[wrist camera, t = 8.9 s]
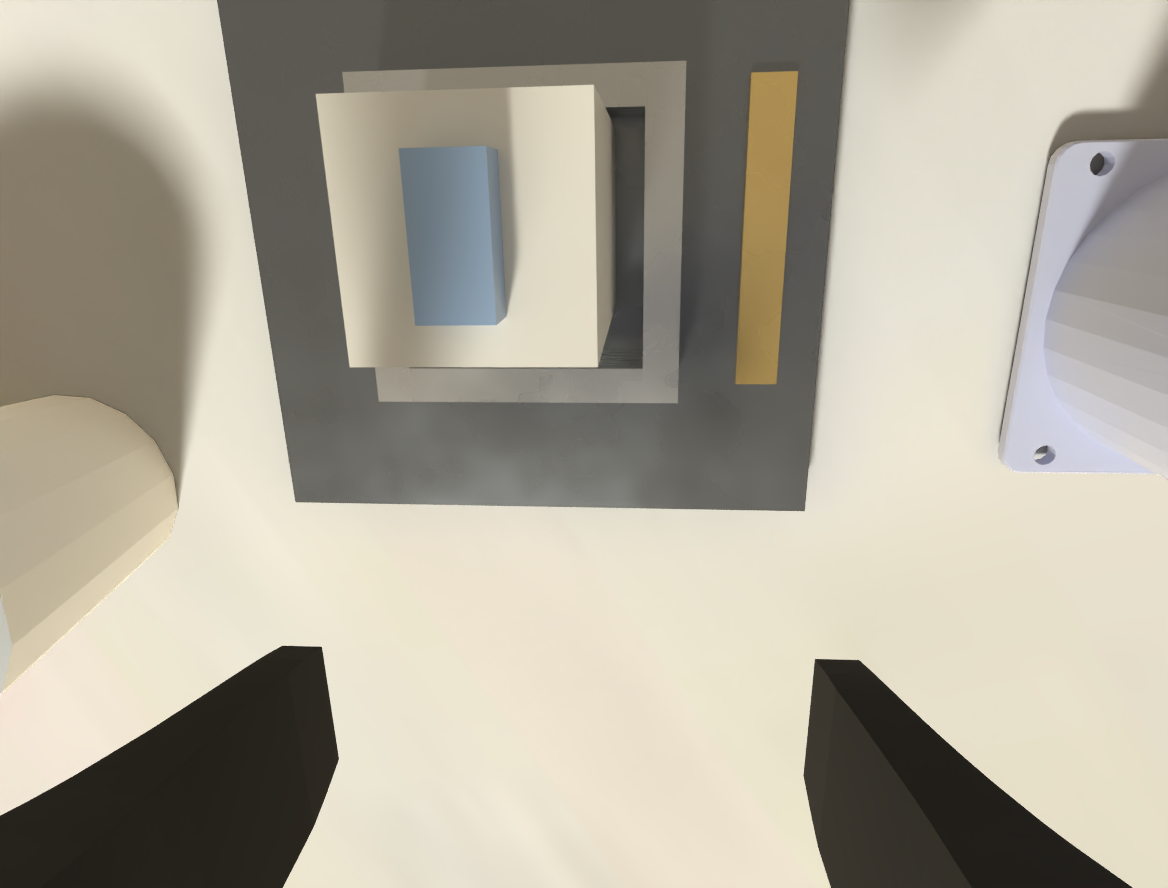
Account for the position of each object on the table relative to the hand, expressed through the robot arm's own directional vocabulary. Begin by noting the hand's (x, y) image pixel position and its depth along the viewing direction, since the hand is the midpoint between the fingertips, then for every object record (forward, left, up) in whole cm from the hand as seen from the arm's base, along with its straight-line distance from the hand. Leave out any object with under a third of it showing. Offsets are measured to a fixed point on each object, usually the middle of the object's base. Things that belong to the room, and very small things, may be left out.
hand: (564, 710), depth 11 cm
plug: (+2, -7, -9) cm, 12 cm away
